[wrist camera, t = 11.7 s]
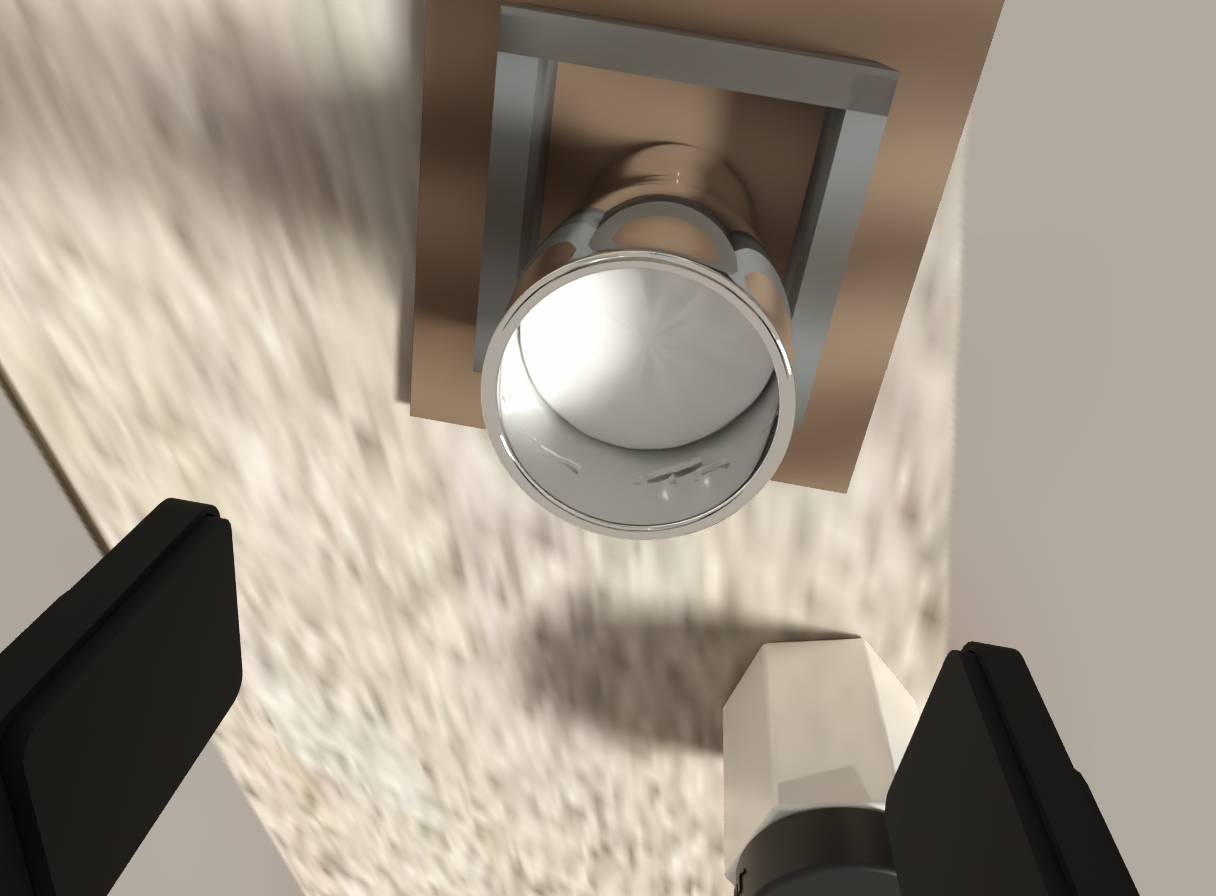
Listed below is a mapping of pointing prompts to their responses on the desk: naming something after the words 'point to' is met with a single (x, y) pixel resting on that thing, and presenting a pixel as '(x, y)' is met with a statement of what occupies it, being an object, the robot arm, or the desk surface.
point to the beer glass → (646, 355)
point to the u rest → (718, 124)
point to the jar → (813, 770)
